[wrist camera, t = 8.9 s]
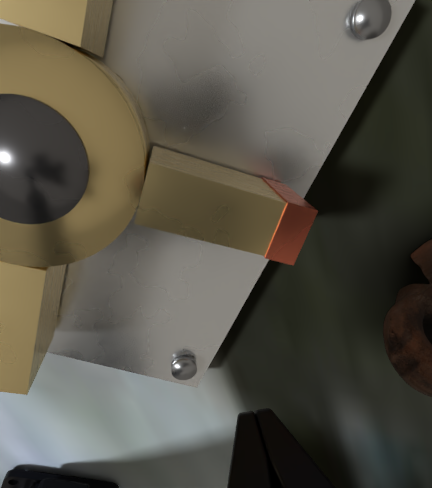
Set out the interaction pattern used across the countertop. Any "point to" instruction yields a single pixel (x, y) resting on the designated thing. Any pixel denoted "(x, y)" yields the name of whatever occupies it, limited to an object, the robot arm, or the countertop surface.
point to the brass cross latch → (98, 175)
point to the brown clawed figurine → (412, 327)
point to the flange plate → (215, 158)
